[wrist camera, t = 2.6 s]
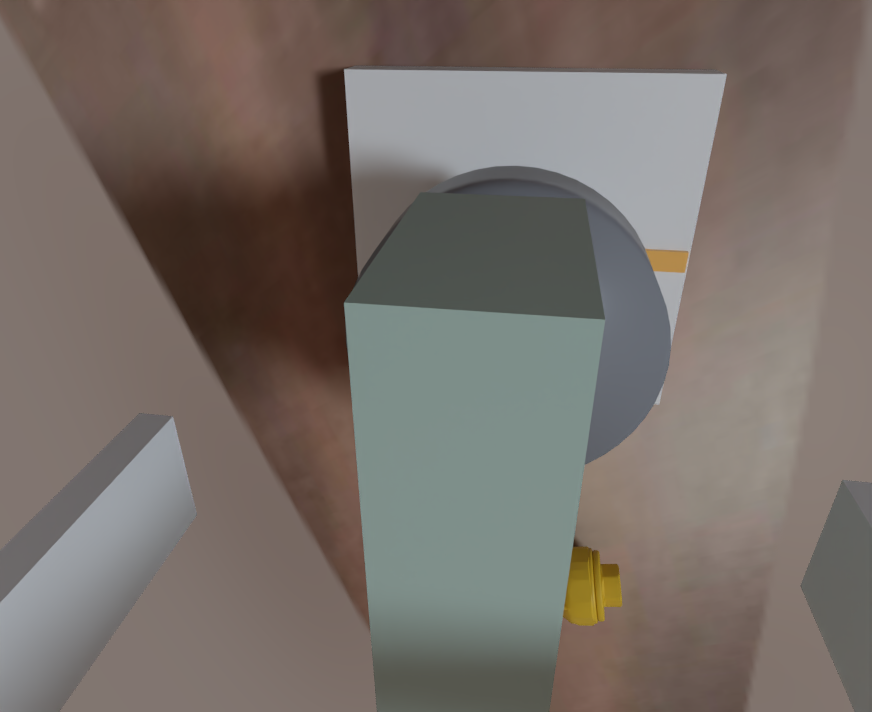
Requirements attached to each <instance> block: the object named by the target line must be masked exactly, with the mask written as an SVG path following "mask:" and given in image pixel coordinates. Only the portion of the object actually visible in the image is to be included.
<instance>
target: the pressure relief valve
mask: <svg viewBox="0 0 872 712" xmlns="http://www.w3.org/2000/svg"><path fill="white" fill-rule="evenodd" d="M621 606H622V596H621V585H620V574H619V566H618V565H617V564H600V555H599V551H597V550H594V551H593V552H592V549H591V548H588V547H573V549H572V556H571V563H570V570H569V577H568V583H567V590H566V597H565V604H564V611H563V617H564V618H565V619H567V620H568V621H569V622H570V623H575V624H577V625H590V626H594V624H596V623H598V621H604V619H605V617H604V607H621Z"/></svg>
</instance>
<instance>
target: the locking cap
mask: <svg viewBox="0 0 872 712" xmlns="http://www.w3.org/2000/svg"><path fill="white" fill-rule="evenodd" d="M344 309H345V322H346V345H347V351H348V359H349V371H350V384H351V396H352V408H353V421H354V433H355V445H356V458H357V470H358V483H359V495H360V507H361V520H362V532H363V545H364V557H365V569H366V582H367V594H368V606H369V619H370V631H371V643H372V656H373V667H374V680H375V693H376V705H377V712H549V709H550V702H551V695H552V688H553V681H554V674H555V667H556V660H557V653H558V646H559V639H560V632H561V625H562V618H563V611H564V604H565V597H566V590H567V583H568V577H569V570H570V563H571V556H572V549H573V542H574V535H575V528H576V521H577V514H578V507H579V500H580V493H581V486H582V479H583V472H584V465H585V464H587V463H589V462H591V461H593V460H595V459H597V458H599V457H601V456H603V455H604V454H606V453H607V452H609V451H610V450H611V449H613V448H614V447H616V446H617V445H619V444H620V443H621V442H622V441H623V440H624V439H625V438H627V437H628V436H629V435H630V434H631V433H632V432H633V431H634V430H635V429H636V428H637V427H638V425H639V424H640V423H641V422H642V421H643V420H644V418H645V417H646V416H647V414H648V412H649V411H650V409H651V408H652V406H653V405H654V403H655V402H656V399H657V397H658V395H659V393H660V391H661V388H662V386H663V384H664V380H665V377H666V373H667V370H668V366H669V359H670V351H671V329H670V322H669V317H668V311H667V307H666V304H665V301H664V298H663V295H662V293H661V290H660V287H659V284H658V282H657V279H656V276H655V274H654V271H653V268H652V266H651V263H650V260H649V258H648V255H647V253H646V250H645V247H644V246H643V244H642V242H641V240H640V238H639V236H638V234H637V232H636V231H635V229H634V228H633V227H632V225H631V224H630V223H629V221H628V220H627V219H626V217H625V216H624V215H623V214H622V213H621V212H620V211H619V210H618V209H617V208H616V207H615V206H614V205H613V204H612V203H611V202H610V201H609V200H607V199H606V198H605V197H603V196H602V195H601V194H599V193H598V192H597V191H595V190H594V189H592V188H590V187H588V186H587V185H585V184H583V183H581V182H579V181H578V180H575V179H573V178H570V177H568V176H565V175H563V174H560V173H557V172H553V171H549V170H545V169H541V168H535V167H525V166H495V167H489V168H483V169H477V170H473V171H470V172H467V173H463V174H460V175H457V176H455V177H452V178H450V179H448V180H446V181H444V182H442V183H440V184H438V185H436V186H435V187H433V188H432V189H430V190H428V191H427V192H420V193H419V195H418V196H417V198H416V199H415V201H414V202H413V203H412V204H411V205H409V206H408V207H407V209H406V210H405V211H404V212H403V213H402V214H401V215H400V216H399V218H398V219H397V220H396V221H395V223H394V224H393V225H392V227H391V228H390V230H389V231H388V232H387V234H386V235H385V237H384V238H383V239H382V241H381V242H380V244H379V245H378V246H377V248H376V249H375V251H374V252H373V253H372V255H371V257H370V258H369V260H368V261H367V263H366V264H365V266H364V267H363V269H362V270H361V273H360V275H359V277H358V279H357V281H356V283H355V286H354V288H353V290H352V292H351V293H350V295H349V296H348V297H347V299H346V300H345V302H344Z"/></svg>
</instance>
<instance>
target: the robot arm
mask: <svg viewBox="0 0 872 712" xmlns="http://www.w3.org/2000/svg"><path fill="white" fill-rule="evenodd" d="M196 515H197V513H196V509H195V505H194V500H193V496H192V492H191V488H190V484H189V480H188V476H187V472H186V468H185V464H184V460H183V456H182V451H181V447H180V443H179V440H178V435H177V431H176V427H175V423H174V419H173V416H164V415H154V414H143V413H139V414H138V415H137V416H136V417H135V418H134V419H133V420H132V421H131V422H130V423H129V424H128V425H127V426H126V427H125V428H124V429H123V430H122V431H121V432H120V433H119V434H118V435H117V436H116V437H115V438H114V439H113V440H112V441H111V442H110V443H109V444H108V445H107V446H106V447H105V448H104V449H103V450H102V451H100V452H99V454H97V455H96V456H95V457H94V458H93V459H92V460H91V461H90V463H88V464H87V465H86V466H85V467H84V468H83V469H82V470H81V471H80V472H79V473H78V474H77V475H76V476H75V477H74V478H73V479H72V480H71V481H70V482H69V483H68V484H67V485H66V486H65V487H64V488H63V489H62V490H61V491H60V492H59V493H58V494H57V495H56V496H55V497H54V498H53V499H52V500H51V501H50V502H49V503H48V504H47V505H46V506H45V507H44V508H43V509H42V510H41V511H40V512H38V514H36V516H34V517H33V518H32V519H31V520H30V521H29V522H28V524H26V525H25V526H24V527H23V528H22V529H21V530H20V531H19V532H18V533H17V534H16V535H15V536H14V537H13V538H12V539H11V540H10V541H9V542H8V543H7V544H6V545H5V546H4V547H3V548H2V549H1V550H0V712H59V711H60V710H61V708H62V707H63V706H64V704H65V703H66V701H67V700H68V699H69V697H70V696H71V694H72V693H73V691H74V690H75V689H76V687H77V686H78V684H79V683H80V681H81V680H82V678H83V677H84V676H85V674H86V673H87V671H88V670H89V669H90V667H91V666H92V664H93V663H94V661H95V660H96V658H97V657H98V656H99V654H100V653H101V651H102V650H103V649H104V647H105V646H106V644H107V643H108V641H109V640H110V639H111V637H112V635H113V634H114V632H115V631H116V630H117V629H118V627H119V626H120V624H121V623H122V621H123V620H124V619H125V617H126V616H127V614H128V613H129V611H130V610H131V609H132V607H133V606H134V604H135V603H136V601H137V600H138V598H139V597H140V596H141V594H142V593H143V591H144V590H145V588H146V587H147V585H148V584H149V583H150V581H151V580H152V578H153V577H154V576H155V574H156V572H157V571H158V570H159V568H160V567H161V566H162V564H163V563H164V561H165V560H166V558H167V557H168V556H169V554H170V553H171V551H172V550H173V548H174V547H175V546H176V544H177V543H178V541H179V540H180V538H181V537H182V536H183V534H184V533H185V531H186V530H187V528H188V527H189V525H190V524H191V523H192V521H193V520H194V518H195V517H196ZM801 588H802V591H803V593H804V595H805V598H806V600H807V602H808V605H809V607H810V609H811V612H812V613H813V616H814V619H815V621H816V623H817V625H818V628H819V630H820V632H821V635H822V637H823V639H824V641H825V644H826V646H827V648H828V651H829V653H830V656H831V658H832V660H833V663H834V665H835V667H836V670H837V672H838V674H839V676H840V679H841V681H842V683H843V686H844V688H845V690H846V693H847V695H848V697H849V700H850V702H851V704H852V707H853V709H854V711H855V712H872V483H868V482H858V481H847V480H843V481H842V483H841V485H840V488H839V490H838V493H837V495H836V498H835V500H834V503H833V505H832V508H831V510H830V513H829V515H828V518H827V520H826V523H825V525H824V528H823V530H822V533H821V535H820V538H819V541H818V543H817V546H816V548H815V551H814V553H813V555H812V558H811V561H810V563H809V566H808V568H807V571H806V573H805V576H804V578H803V581H802V583H801Z"/></svg>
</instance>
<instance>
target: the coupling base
mask: <svg viewBox="0 0 872 712" xmlns="http://www.w3.org/2000/svg"><path fill="white" fill-rule="evenodd" d="M344 76H345V91H346V105H347V120H348V135H349V150H350V165H351V180H352V194H353V209H354V224H355V239H356V254H357V269H358V277H359V275H360V273H361V270H362V269H363V267H364V266H365V264H366V263H367V261H368V260H369V258H370V257H371V255H372V253H373V252H374V251H375V249H376V248H377V246H378V245H379V244H380V242H381V241H382V239H383V238H384V237H385V235H386V234H387V232H388V231H389V230H390V228H391V227H392V225H393V224H394V223H395V221H396V220H397V219H398V218H399V216H400V215H401V214H402V213H403V212H404V211H405V210H406V209H407V207H408V206H409V205H411V204H412V203H413V202H414V201H415V199H416V198H417V196H418V195H419V193H420V192H427V191H428V190H430V189H432V188H433V187H435V186H436V185H438V184H440V183H442V182H444V181H446V180H448V179H450V178H452V177H455V176H457V175H460V174H463V173H467V172H470V171H473V170H477V169H483V168H489V167H495V166H525V167H535V168H541V169H545V170H549V171H553V172H557V173H560V174H563V175H565V176H568V177H570V178H573V179H575V180H578V181H579V182H581V183H583V184H585V185H587V186H588V187H590V188H592V189H594V190H595V191H597V192H598V193H599V194H601V195H602V196H603V197H605V198H606V199H607V200H609V201H610V202H611V203H612V204H613V205H614V206H615V207H616V208H617V209H618V210H619V211H620V212H621V213H622V214H623V215H624V216H625V217H626V219H627V220H628V221H629V223H630V224H631V225H632V227H633V228H634V229H635V231H636V232H637V234H638V236H639V238H640V240H641V242H642V244H643V246H644V247H645V250H646V253H647V255H648V258H649V260H650V263H651V266H652V268H653V271H654V274H655V276H656V279H657V282H658V284H659V287H660V290H661V293H662V295H663V298H664V301H665V304H666V307H667V311H668V317H669V322H670V329H671V344H672V339H673V335H674V330H675V325H676V320H677V315H678V310H679V305H680V300H681V296H682V291H683V286H684V281H685V276H686V271H687V266H688V261H689V256H690V252H691V247H692V242H693V237H694V232H695V227H696V222H697V217H698V212H699V208H700V203H701V198H702V193H703V188H704V183H705V178H706V173H707V169H708V164H709V159H710V154H711V149H712V144H713V139H714V134H715V129H716V125H717V120H718V115H719V110H720V105H721V100H722V95H723V90H724V85H725V81H726V76H727V74H725V73H723V72H721V71H718V70H688V69H602V68H516V67H430V66H353V67H350V68H346V69H344ZM662 388H663V386H662ZM662 388H661V391H660V393H659V395H658V397H657V399H656V402H655V403H654V404H659V403H660V398H661V393H662Z"/></svg>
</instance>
